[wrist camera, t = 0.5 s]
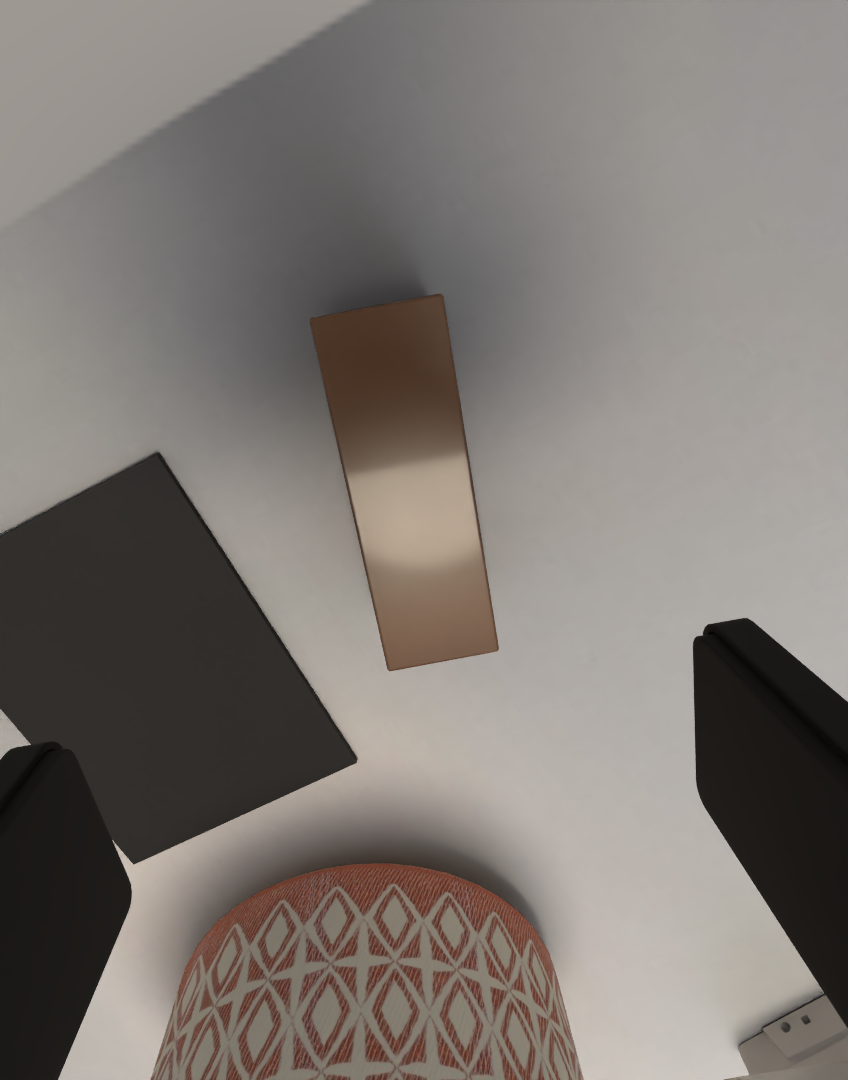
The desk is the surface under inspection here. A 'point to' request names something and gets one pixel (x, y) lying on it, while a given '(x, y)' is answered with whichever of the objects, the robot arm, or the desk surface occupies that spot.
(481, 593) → the bar
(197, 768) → the black mat
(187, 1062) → the planter
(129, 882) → the robot arm
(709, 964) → the desk surface
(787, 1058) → the cassette
